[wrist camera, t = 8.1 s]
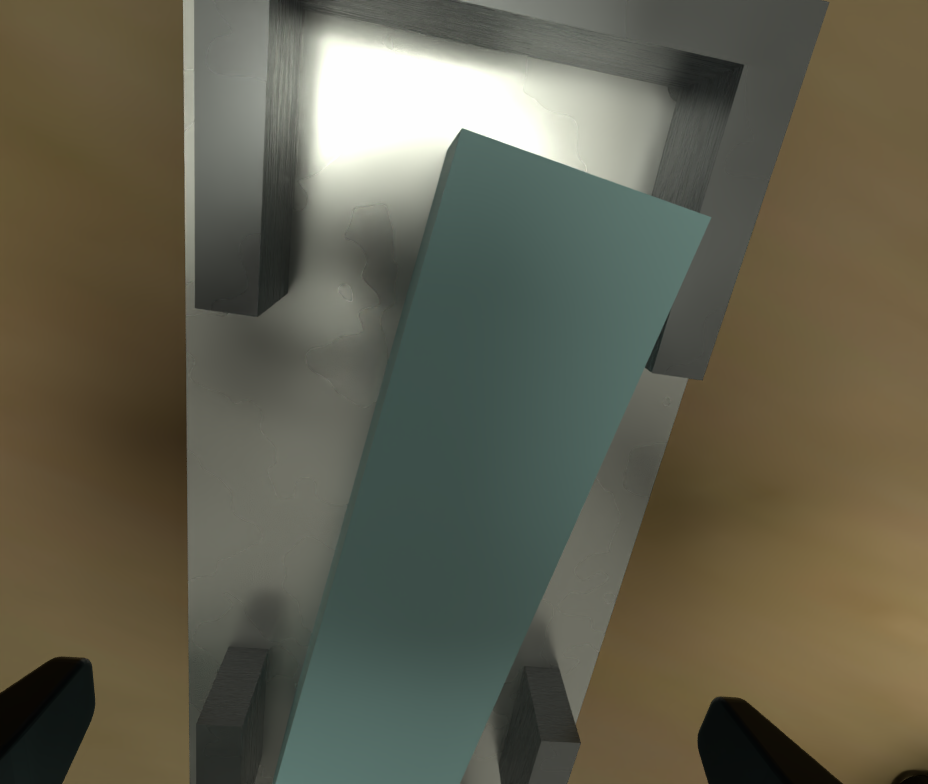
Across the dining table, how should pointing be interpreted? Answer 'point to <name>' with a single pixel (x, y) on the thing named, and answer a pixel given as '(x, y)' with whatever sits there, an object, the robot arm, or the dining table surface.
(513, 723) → the cup bracket
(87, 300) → the dining table surface
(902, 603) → the dining table surface
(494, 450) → the rail
